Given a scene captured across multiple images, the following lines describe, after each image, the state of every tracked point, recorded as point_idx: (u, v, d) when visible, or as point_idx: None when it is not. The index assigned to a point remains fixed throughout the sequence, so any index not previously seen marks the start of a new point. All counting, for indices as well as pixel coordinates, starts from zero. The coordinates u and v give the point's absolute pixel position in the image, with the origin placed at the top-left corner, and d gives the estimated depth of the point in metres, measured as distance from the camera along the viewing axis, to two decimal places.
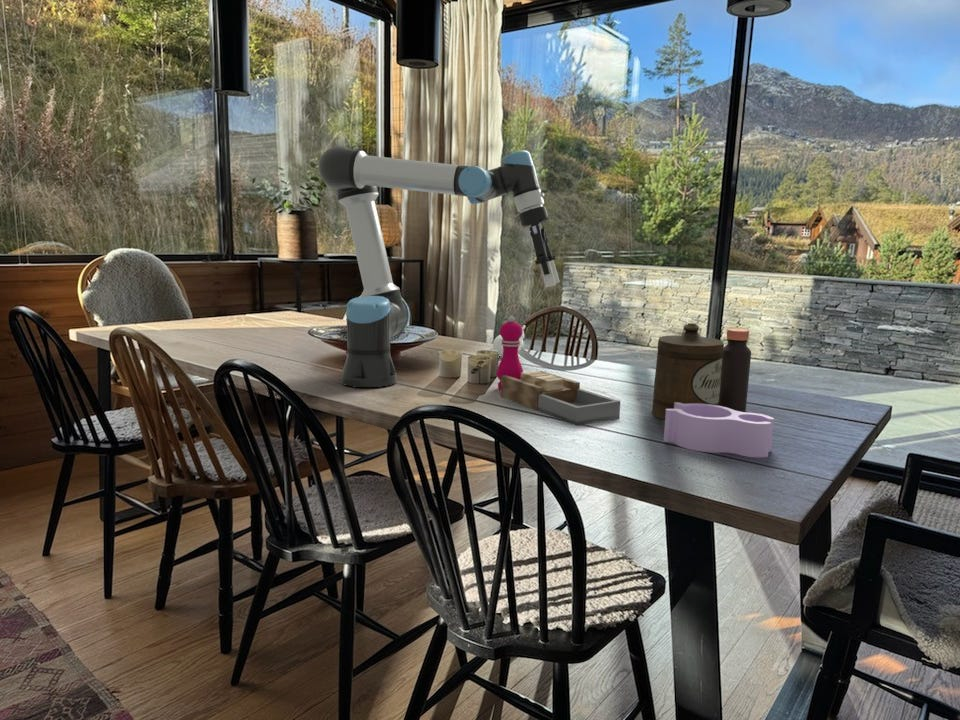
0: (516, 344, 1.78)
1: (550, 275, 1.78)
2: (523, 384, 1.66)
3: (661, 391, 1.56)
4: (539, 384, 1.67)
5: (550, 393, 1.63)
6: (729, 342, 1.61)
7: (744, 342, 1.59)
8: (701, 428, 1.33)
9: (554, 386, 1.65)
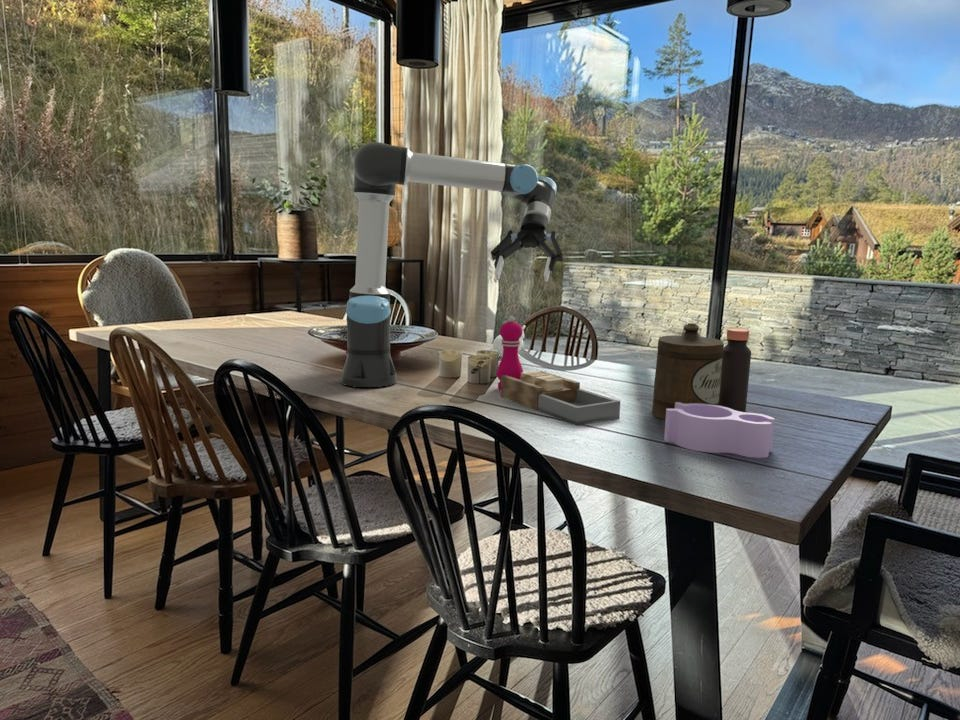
0: (516, 344, 1.78)
1: (549, 272, 1.82)
2: (523, 384, 1.66)
3: (661, 391, 1.56)
4: (539, 384, 1.67)
5: (550, 393, 1.63)
6: (729, 342, 1.61)
7: (744, 342, 1.59)
8: (701, 428, 1.33)
9: (554, 386, 1.65)
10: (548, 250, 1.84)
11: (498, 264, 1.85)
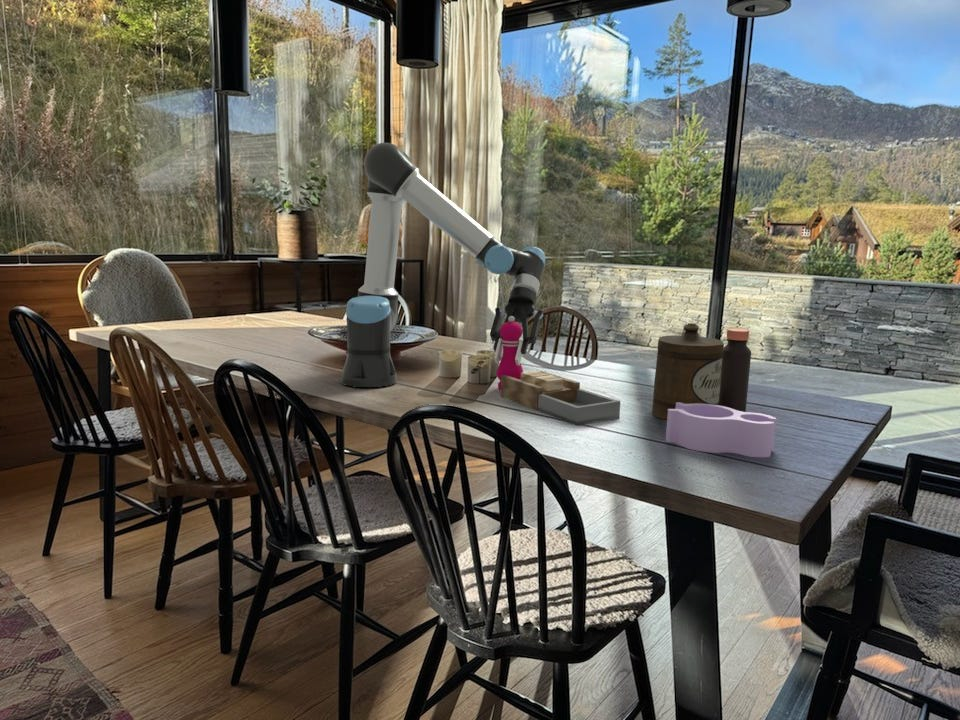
0: (516, 344, 1.78)
1: (521, 355, 1.79)
2: (523, 384, 1.66)
3: (661, 391, 1.56)
4: (539, 384, 1.67)
5: (550, 393, 1.63)
6: (729, 342, 1.61)
7: (744, 342, 1.59)
8: (704, 428, 1.33)
9: (554, 386, 1.65)
10: (524, 331, 1.81)
11: (497, 348, 1.79)
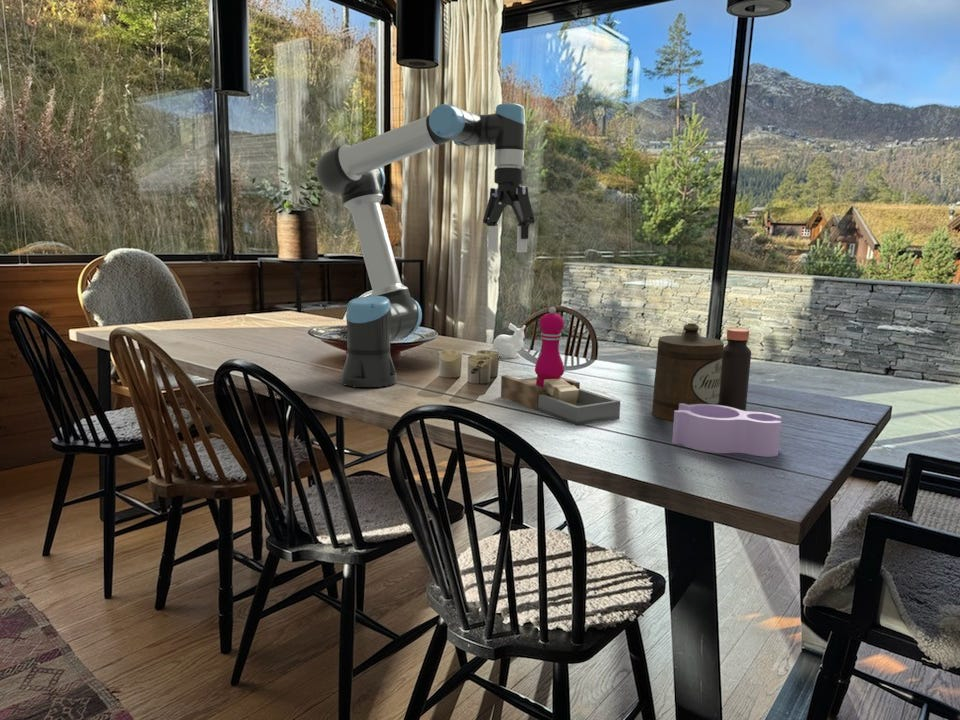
0: (557, 337, 1.64)
1: (525, 241, 1.72)
2: (523, 384, 1.66)
3: (661, 391, 1.56)
4: (556, 395, 1.59)
5: None
6: (729, 342, 1.61)
7: (744, 342, 1.59)
8: (713, 429, 1.32)
9: None
10: (517, 216, 1.71)
11: (488, 238, 1.82)
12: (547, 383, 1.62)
